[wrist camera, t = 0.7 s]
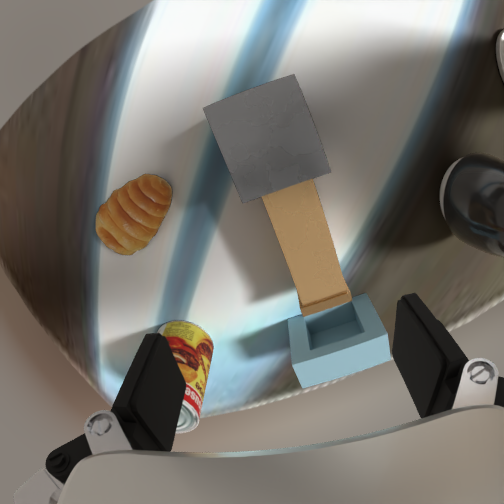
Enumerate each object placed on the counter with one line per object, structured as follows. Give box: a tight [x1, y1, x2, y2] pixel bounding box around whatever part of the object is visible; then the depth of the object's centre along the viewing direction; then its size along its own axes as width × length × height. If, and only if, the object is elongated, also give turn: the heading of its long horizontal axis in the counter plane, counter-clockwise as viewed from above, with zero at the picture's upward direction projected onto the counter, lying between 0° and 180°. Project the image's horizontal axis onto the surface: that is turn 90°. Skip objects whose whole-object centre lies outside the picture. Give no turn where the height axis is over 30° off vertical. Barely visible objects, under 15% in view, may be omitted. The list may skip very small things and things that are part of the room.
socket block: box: [288, 293, 391, 388], centre depth 32 cm, size 10×4×8 cm, turn 112°
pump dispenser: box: [440, 152, 504, 258], centre depth 21 cm, size 10×10×15 cm
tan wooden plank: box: [262, 179, 352, 317], centre depth 27 cm, size 5×20×5 cm, turn 22°
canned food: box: [157, 320, 214, 433], centre depth 33 cm, size 8×8×12 cm
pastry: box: [96, 174, 172, 255], centre depth 30 cm, size 9×7×4 cm
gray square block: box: [203, 74, 331, 203], centre depth 24 cm, size 7×8×7 cm
